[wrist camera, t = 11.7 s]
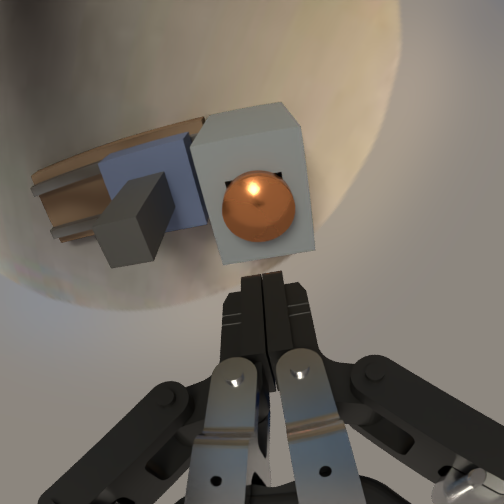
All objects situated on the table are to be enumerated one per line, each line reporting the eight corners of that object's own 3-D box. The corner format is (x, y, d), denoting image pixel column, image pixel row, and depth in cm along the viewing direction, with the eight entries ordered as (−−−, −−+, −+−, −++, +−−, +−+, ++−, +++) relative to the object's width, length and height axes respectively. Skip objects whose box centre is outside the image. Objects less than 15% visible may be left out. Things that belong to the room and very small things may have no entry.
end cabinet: (209, 115, 25) (189, 147, 16) (281, 101, 24) (300, 126, 16) (230, 203, 29) (224, 270, 21) (295, 192, 29) (315, 255, 20)
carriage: (109, 153, 24) (52, 205, 16) (188, 131, 23) (157, 174, 15) (135, 225, 27) (99, 295, 20) (210, 210, 27) (195, 282, 19)
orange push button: (222, 151, 21) (214, 184, 16) (279, 141, 21) (290, 170, 16) (234, 202, 24) (230, 247, 19) (287, 193, 23) (299, 235, 18)
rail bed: (38, 170, 26) (26, 179, 24) (203, 116, 25) (199, 121, 23) (67, 235, 31) (58, 247, 29) (224, 200, 29) (222, 211, 27)
